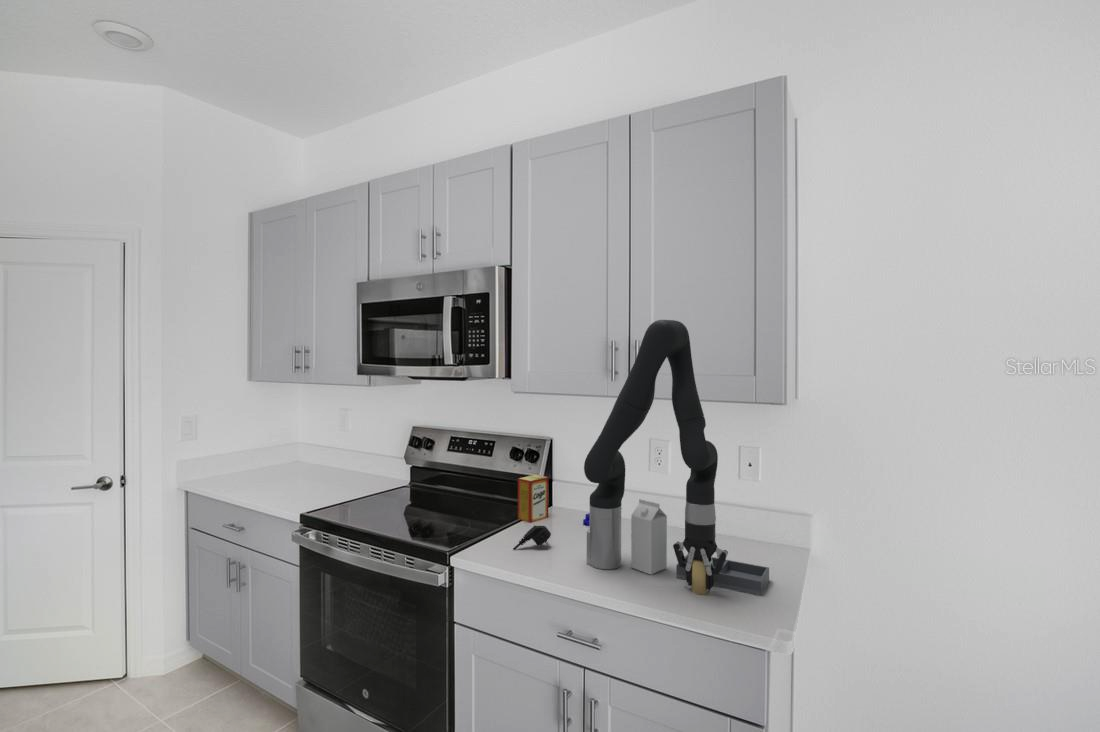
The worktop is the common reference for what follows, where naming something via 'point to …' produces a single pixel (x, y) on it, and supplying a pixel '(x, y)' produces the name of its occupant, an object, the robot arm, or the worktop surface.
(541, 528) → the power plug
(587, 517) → the cable holder
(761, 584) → the grey divided tray
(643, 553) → the milk carton
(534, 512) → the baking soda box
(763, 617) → the worktop surface
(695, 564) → the tan rounded cylinder
